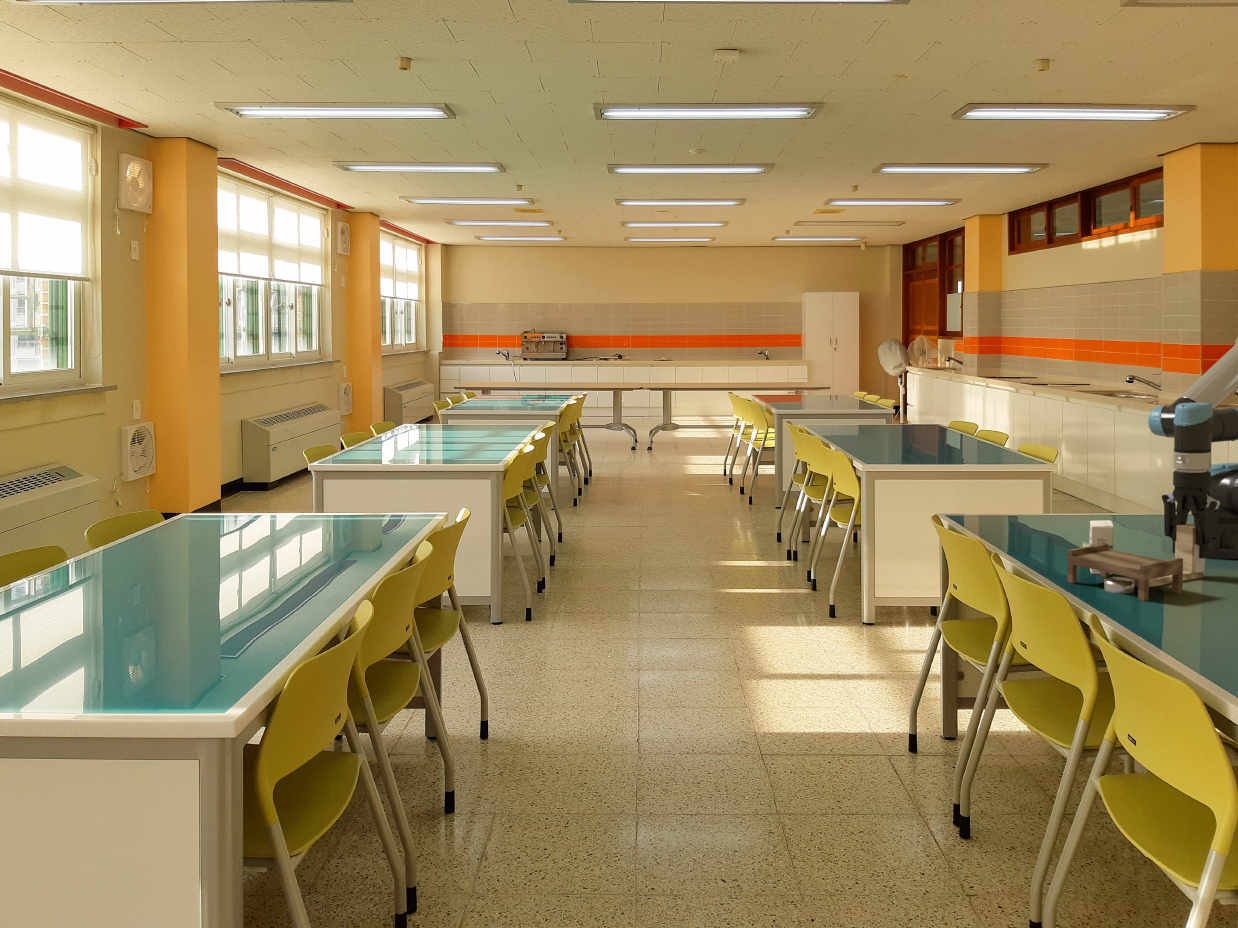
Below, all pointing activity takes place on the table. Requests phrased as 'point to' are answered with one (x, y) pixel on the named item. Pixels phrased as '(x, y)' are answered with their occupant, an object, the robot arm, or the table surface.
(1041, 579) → the table surface
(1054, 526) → the table surface
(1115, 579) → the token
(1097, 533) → the ink box
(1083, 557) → the riser
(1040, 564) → the table surface
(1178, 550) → the bookend
